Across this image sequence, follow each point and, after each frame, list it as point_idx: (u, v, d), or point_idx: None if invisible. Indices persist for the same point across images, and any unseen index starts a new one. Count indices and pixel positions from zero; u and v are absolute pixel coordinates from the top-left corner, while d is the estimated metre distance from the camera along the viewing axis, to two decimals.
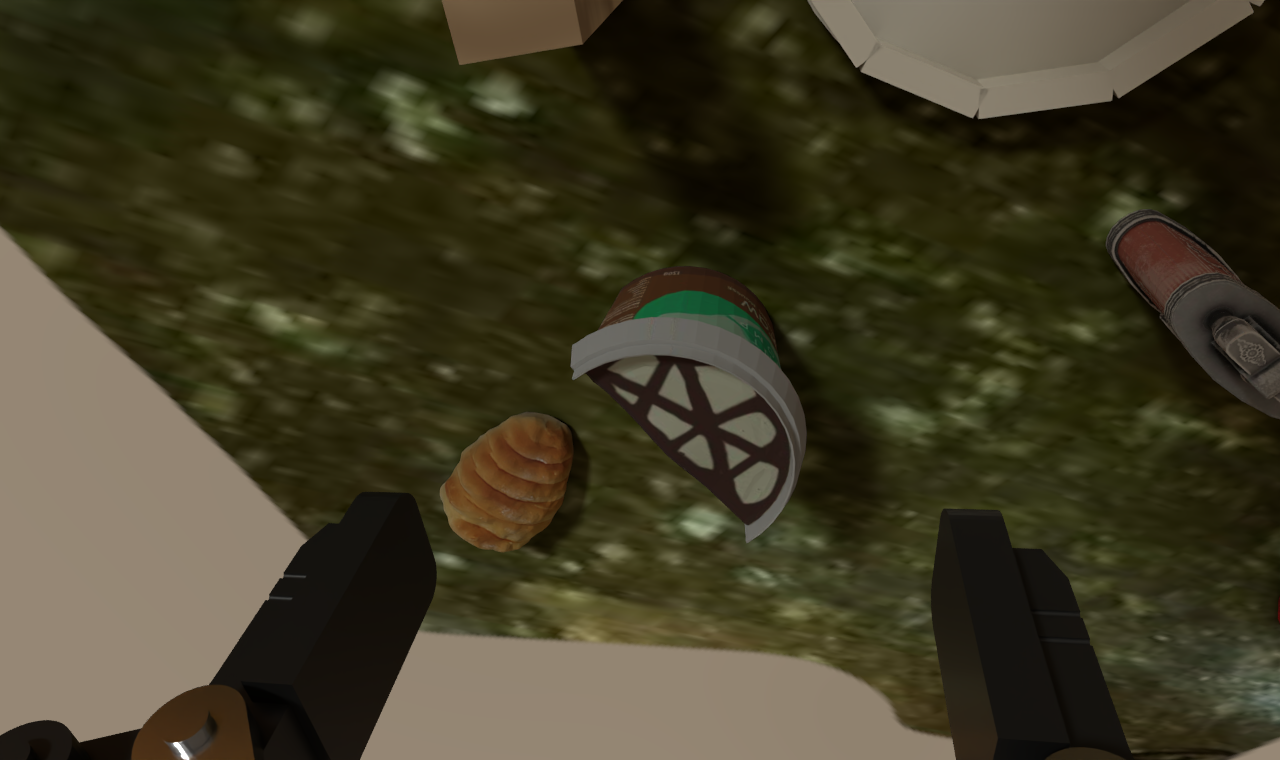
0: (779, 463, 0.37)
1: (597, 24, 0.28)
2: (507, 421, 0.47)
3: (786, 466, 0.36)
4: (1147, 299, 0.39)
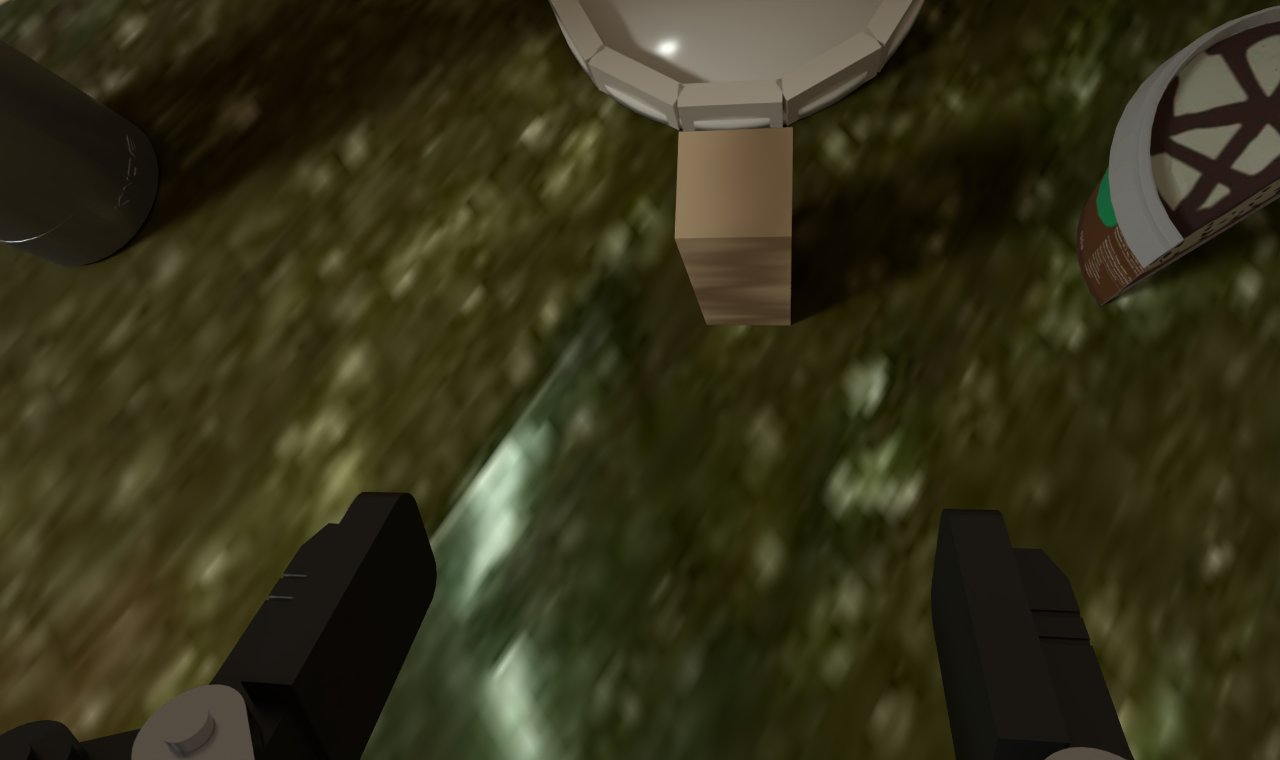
0: None
1: None
2: None
3: None
4: None
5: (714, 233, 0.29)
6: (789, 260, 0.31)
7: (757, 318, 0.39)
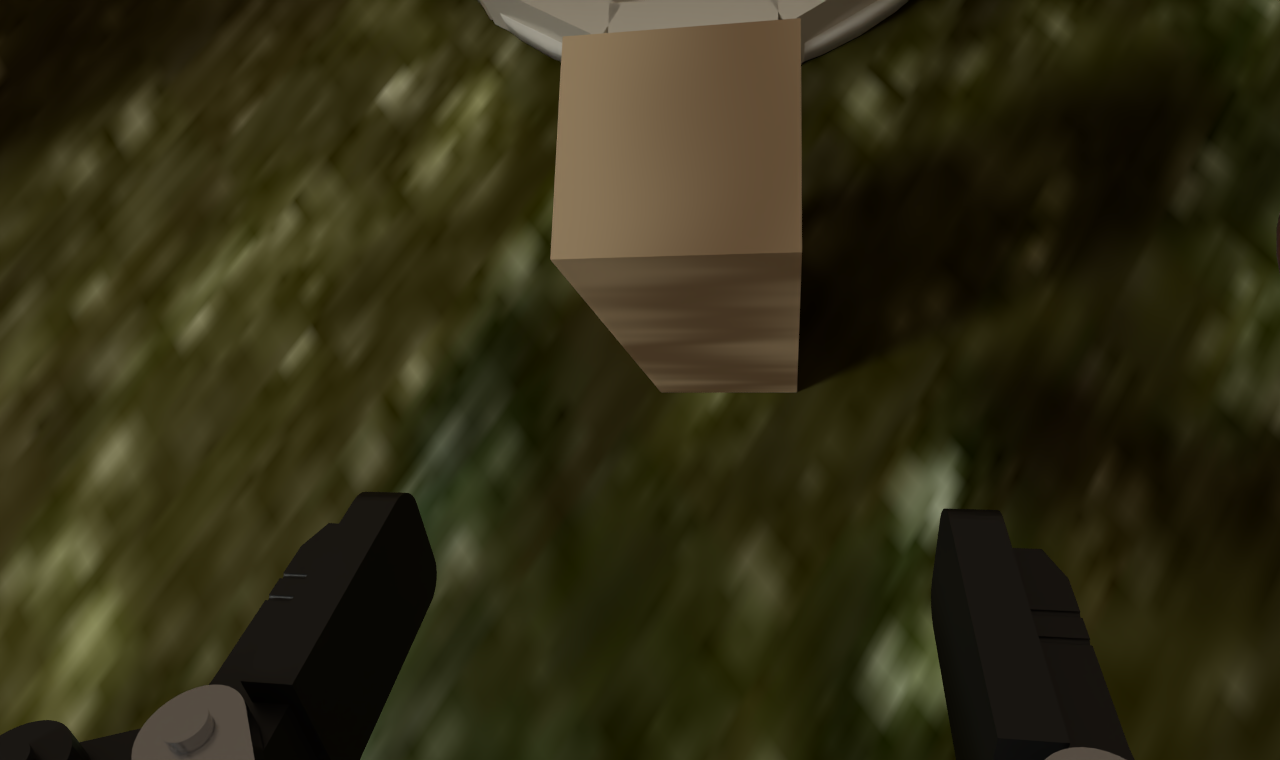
0: None
1: None
2: None
3: None
4: None
5: (634, 248, 0.13)
6: (796, 299, 0.15)
7: (742, 384, 0.24)
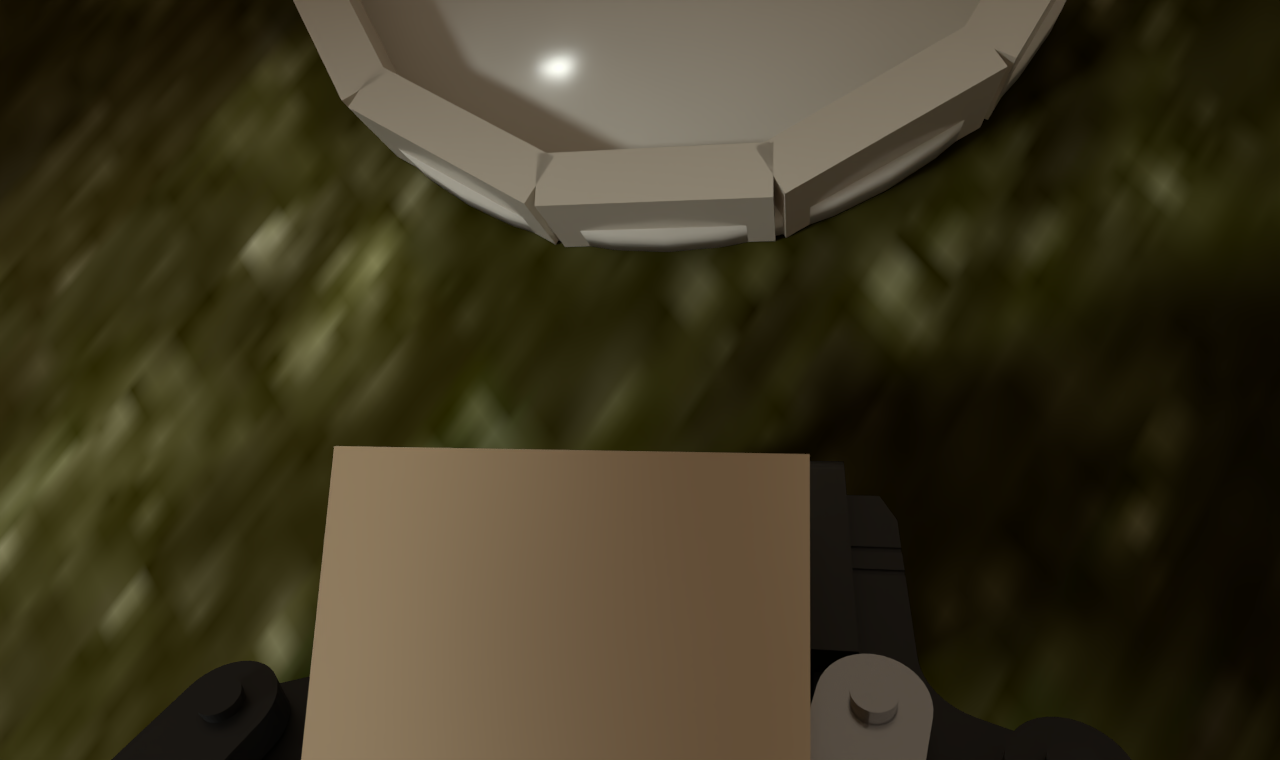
0: None
1: None
2: None
3: None
4: None
5: None
6: None
7: None
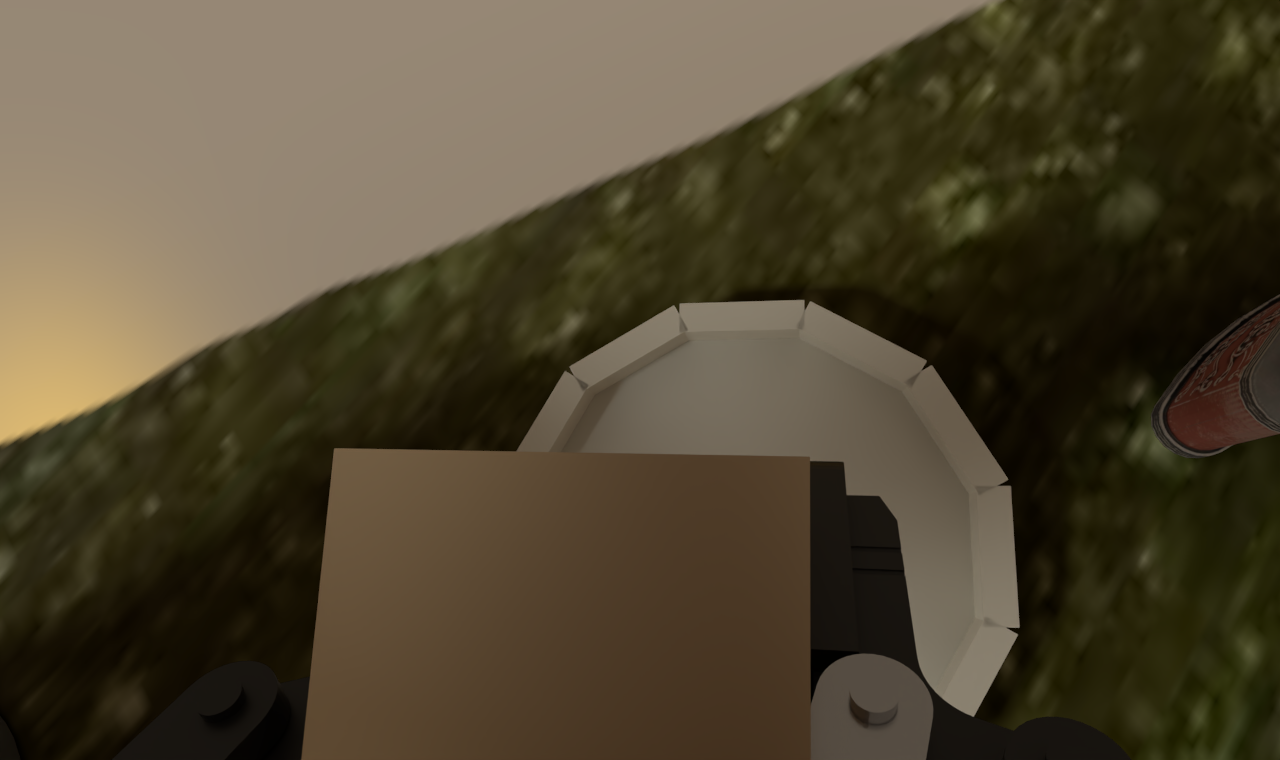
0: None
1: None
2: None
3: None
4: None
5: None
6: None
7: None
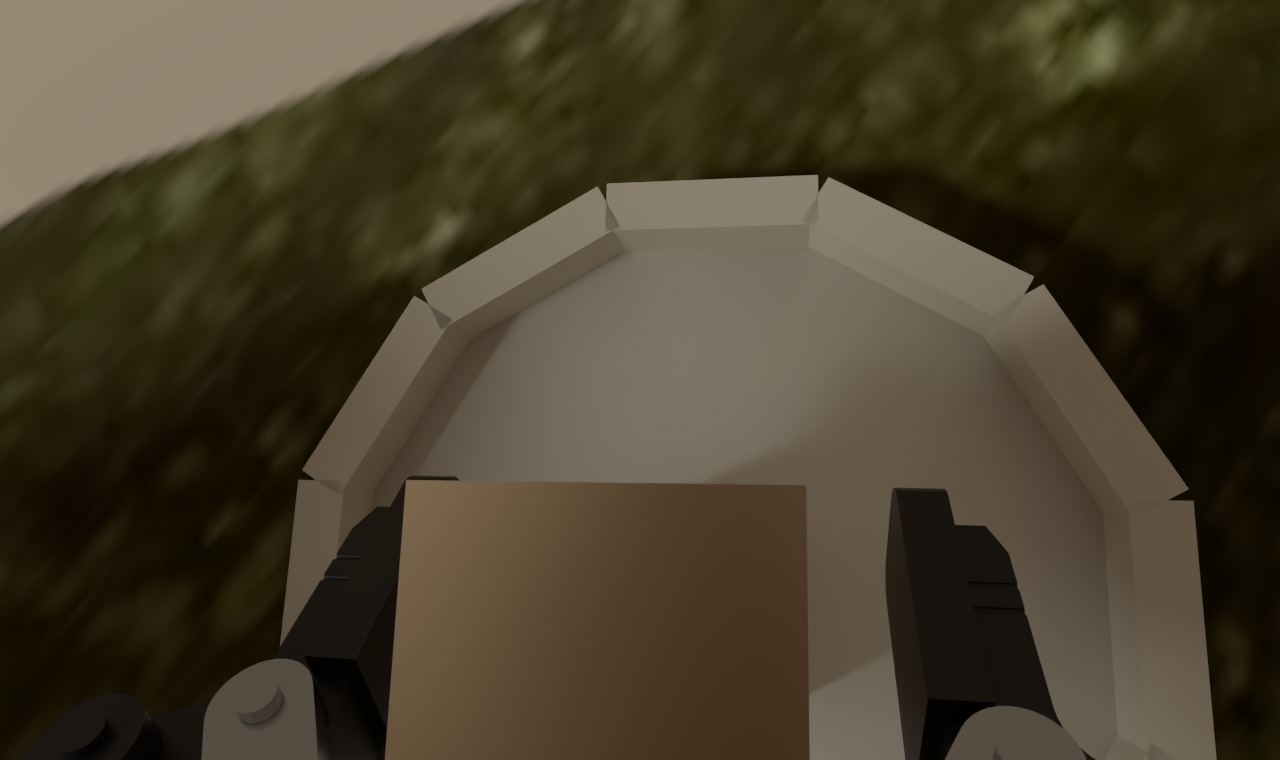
0: None
1: None
2: None
3: None
4: None
5: None
6: None
7: None
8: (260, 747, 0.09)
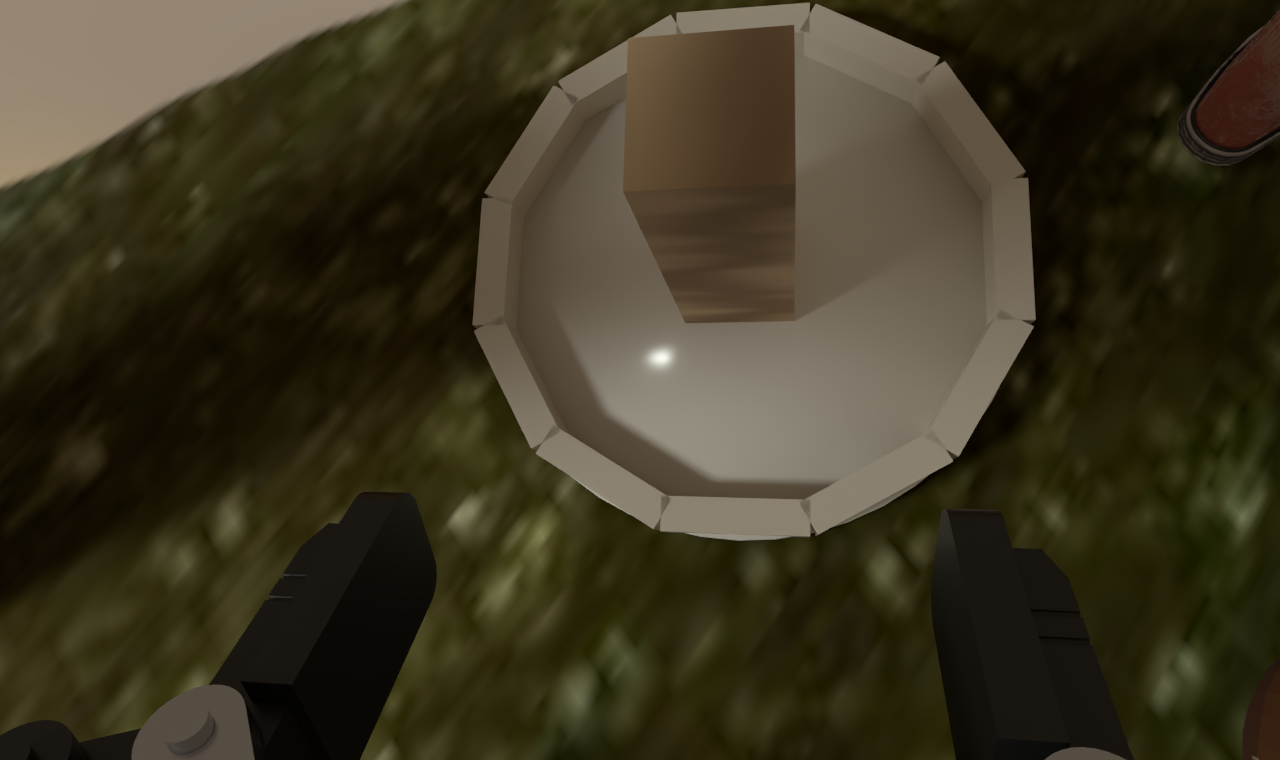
0: None
1: None
2: None
3: None
4: None
5: (681, 182, 0.20)
6: (792, 224, 0.21)
7: (750, 313, 0.30)
8: None
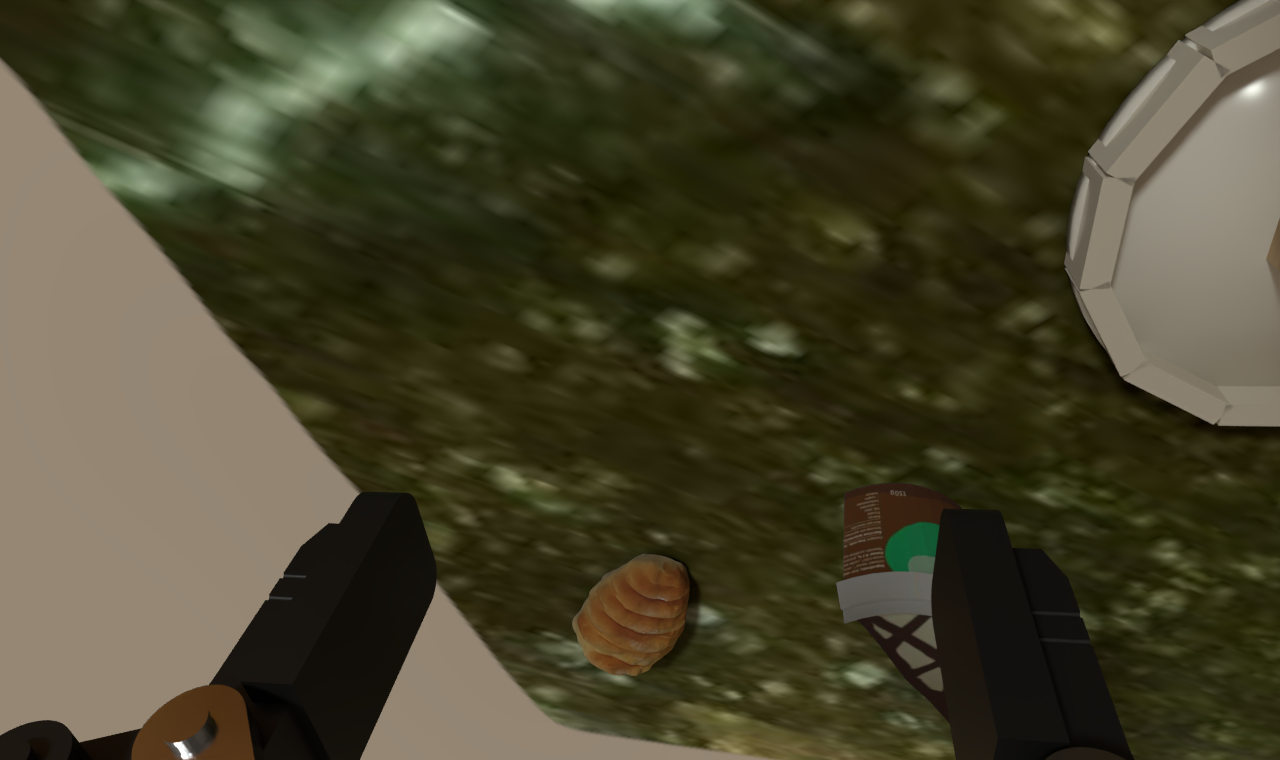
0: None
1: None
2: (628, 565, 0.52)
3: None
4: None
5: None
6: None
7: None
8: None
